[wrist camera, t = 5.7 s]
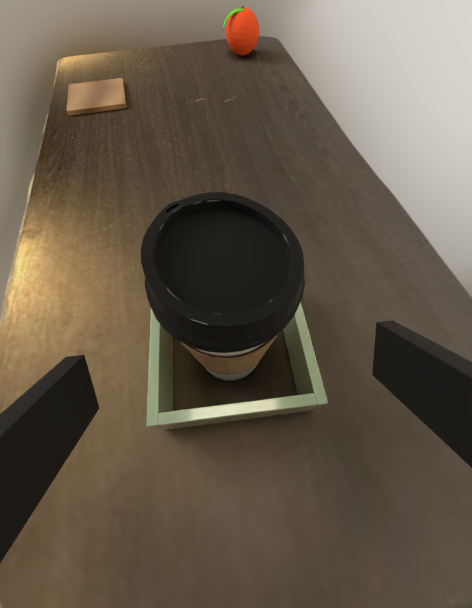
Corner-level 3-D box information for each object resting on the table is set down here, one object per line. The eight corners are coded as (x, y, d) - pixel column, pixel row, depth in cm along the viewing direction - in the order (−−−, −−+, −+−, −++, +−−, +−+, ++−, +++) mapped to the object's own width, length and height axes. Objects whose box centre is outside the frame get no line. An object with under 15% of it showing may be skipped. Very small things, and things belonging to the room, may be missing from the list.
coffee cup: (229, 296, 28) (222, 164, 15) (291, 348, 25) (352, 244, 12) (168, 350, 25) (92, 248, 12) (231, 416, 22) (222, 379, 9)
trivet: (69, 116, 45) (66, 111, 44) (71, 89, 50) (68, 84, 49) (127, 108, 46) (125, 103, 46) (123, 82, 51) (122, 77, 50)
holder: (164, 430, 22) (145, 427, 17) (165, 300, 28) (152, 273, 23) (310, 411, 22) (328, 403, 18) (281, 288, 28) (289, 259, 24)
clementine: (231, 65, 55) (230, 16, 48) (216, 52, 57) (214, 5, 51) (263, 56, 56) (267, 8, 50) (247, 45, 59) (249, -2, 53)
